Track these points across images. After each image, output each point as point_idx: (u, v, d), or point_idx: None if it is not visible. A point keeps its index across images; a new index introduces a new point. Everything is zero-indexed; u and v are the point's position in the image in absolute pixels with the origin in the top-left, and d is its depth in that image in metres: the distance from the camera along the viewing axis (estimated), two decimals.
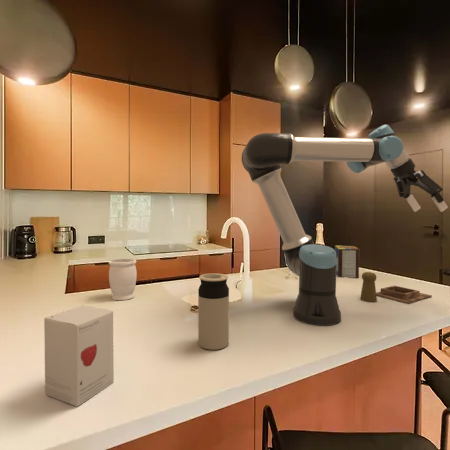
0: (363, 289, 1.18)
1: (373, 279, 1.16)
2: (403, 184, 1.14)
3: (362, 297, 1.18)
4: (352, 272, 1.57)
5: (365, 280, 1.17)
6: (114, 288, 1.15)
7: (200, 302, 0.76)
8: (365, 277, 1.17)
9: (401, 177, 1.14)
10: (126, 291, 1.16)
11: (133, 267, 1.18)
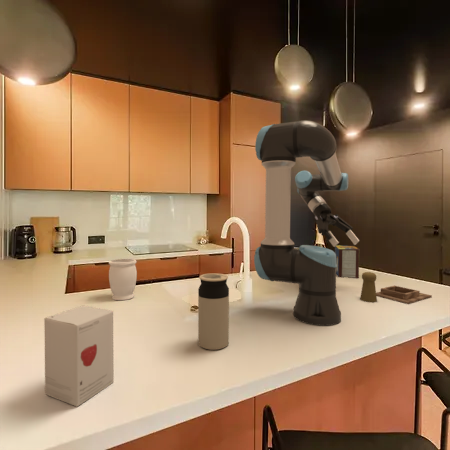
0: (363, 289, 1.18)
1: (373, 279, 1.16)
2: (328, 218, 1.32)
3: (362, 297, 1.18)
4: (352, 272, 1.57)
5: (365, 280, 1.17)
6: (114, 288, 1.15)
7: (200, 302, 0.76)
8: (365, 277, 1.17)
9: (324, 215, 1.34)
10: (126, 291, 1.16)
11: (133, 267, 1.18)
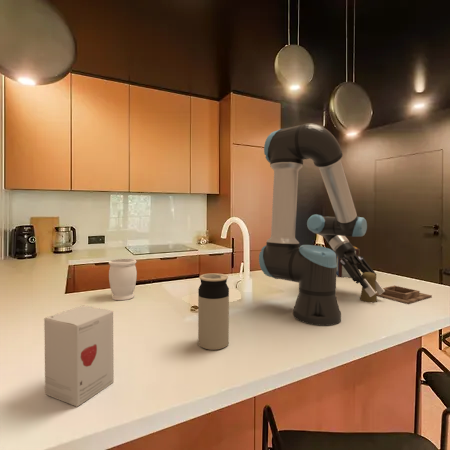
0: (363, 289, 1.18)
1: (373, 279, 1.16)
2: (354, 260, 1.22)
3: (362, 297, 1.18)
4: None
5: None
6: (114, 288, 1.15)
7: (200, 302, 0.76)
8: (365, 277, 1.17)
9: (347, 255, 1.24)
10: (126, 291, 1.16)
11: (133, 267, 1.18)
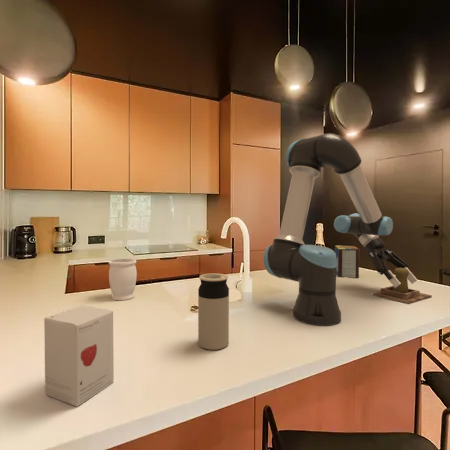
0: None
1: (406, 274, 1.21)
2: (383, 255, 1.26)
3: None
4: (352, 272, 1.57)
5: (398, 275, 1.22)
6: (114, 288, 1.15)
7: (200, 302, 0.76)
8: (398, 273, 1.21)
9: (378, 250, 1.28)
10: (126, 291, 1.16)
11: (133, 267, 1.18)
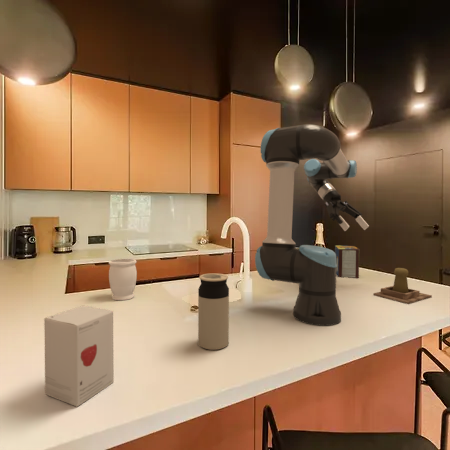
0: (395, 284, 1.23)
1: (406, 274, 1.21)
2: (338, 204, 1.35)
3: None
4: (352, 272, 1.57)
5: (397, 275, 1.22)
6: (114, 288, 1.15)
7: (200, 302, 0.76)
8: (398, 273, 1.21)
9: (334, 201, 1.37)
10: (126, 291, 1.16)
11: (133, 267, 1.18)
